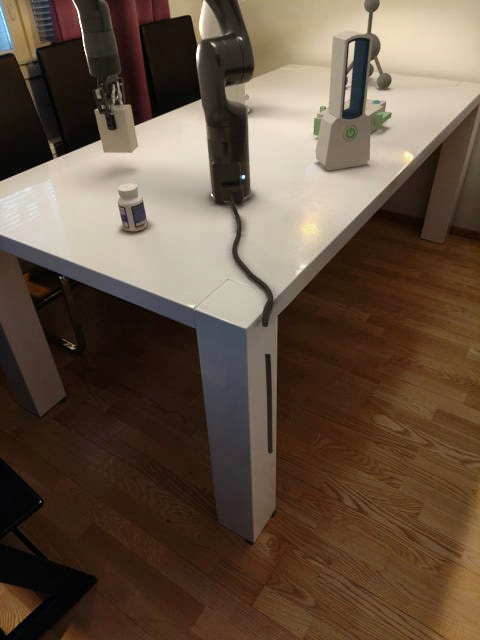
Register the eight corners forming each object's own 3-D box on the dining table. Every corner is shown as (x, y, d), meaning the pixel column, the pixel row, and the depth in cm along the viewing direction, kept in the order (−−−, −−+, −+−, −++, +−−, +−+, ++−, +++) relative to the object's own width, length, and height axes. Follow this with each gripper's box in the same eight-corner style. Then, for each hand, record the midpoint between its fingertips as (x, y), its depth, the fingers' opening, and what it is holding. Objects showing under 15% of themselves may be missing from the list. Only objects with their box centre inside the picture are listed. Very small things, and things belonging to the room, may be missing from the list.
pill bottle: (149, 220, 107) (142, 181, 102) (146, 231, 103) (138, 191, 98) (125, 221, 107) (116, 182, 102) (121, 232, 103) (112, 193, 98)
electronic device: (325, 171, 125) (333, 37, 106) (314, 161, 130) (320, 32, 112) (369, 164, 127) (385, 32, 108) (356, 155, 133) (369, 28, 114)
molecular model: (320, 82, 200) (324, -5, 182) (368, 76, 205) (377, -10, 186) (347, 95, 182) (354, 0, 164) (399, 88, 187) (412, -5, 168)
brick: (110, 146, 132) (102, 104, 125) (138, 146, 130) (130, 104, 124) (103, 152, 128) (94, 110, 121) (131, 152, 126) (123, 109, 120)
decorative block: (340, 93, 160) (399, 100, 150) (339, 114, 164) (396, 122, 154) (301, 113, 144) (364, 122, 134) (300, 136, 148) (362, 146, 138)
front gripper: (99, 47, 121) (113, 118, 132) (73, 58, 110) (91, 135, 121) (127, 46, 120) (139, 118, 130) (104, 57, 109) (120, 135, 119)
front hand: (116, 126), depth 125 cm, fingers closed on brick, 5 cm apart
